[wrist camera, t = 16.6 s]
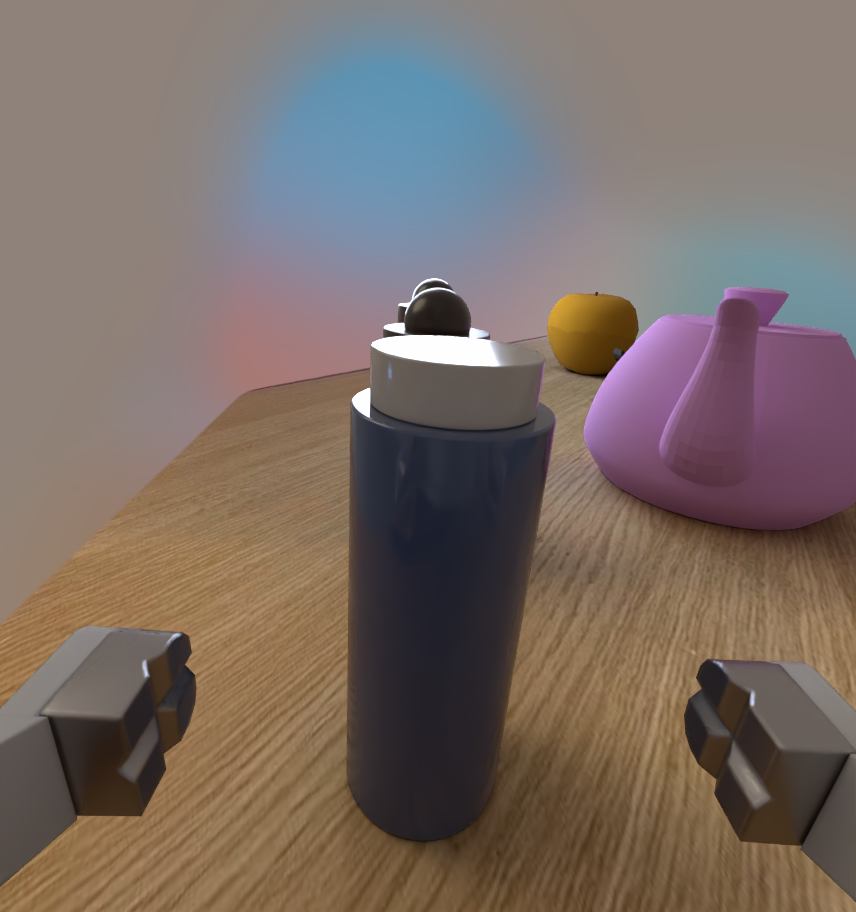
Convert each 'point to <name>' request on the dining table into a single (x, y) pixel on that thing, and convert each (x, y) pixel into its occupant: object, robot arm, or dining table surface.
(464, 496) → the blue shaker
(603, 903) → the dining table surface
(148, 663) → the robot arm
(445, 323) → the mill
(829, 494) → the teapot
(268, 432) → the dining table surface
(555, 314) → the apple
